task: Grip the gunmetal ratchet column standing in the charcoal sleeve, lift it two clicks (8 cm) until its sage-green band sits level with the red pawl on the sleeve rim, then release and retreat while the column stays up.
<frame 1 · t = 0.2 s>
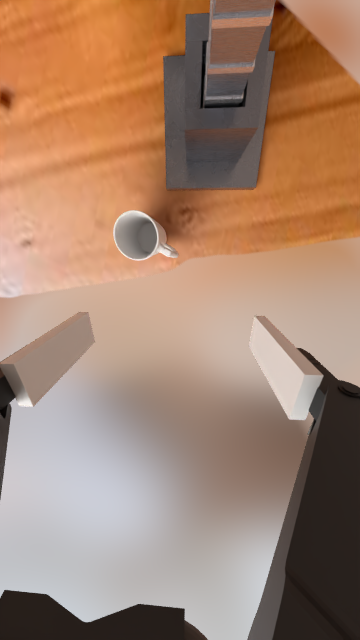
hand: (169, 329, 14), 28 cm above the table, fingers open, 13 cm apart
mug: (159, 242, 38), on the table
column: (226, 65, 19), point 13 cm above the table, slide at 0.0 cm
sleeve: (213, 133, 30), on the table
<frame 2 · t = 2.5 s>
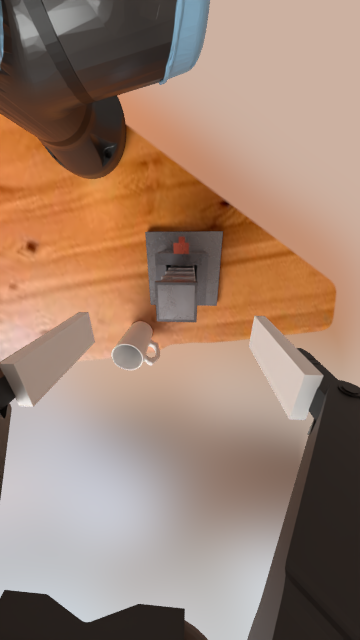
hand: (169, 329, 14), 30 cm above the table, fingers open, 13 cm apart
mug: (147, 333, 49), on the table
column: (181, 281, 30), point 13 cm above the table, slide at 0.0 cm
sleeve: (183, 270, 41), on the table
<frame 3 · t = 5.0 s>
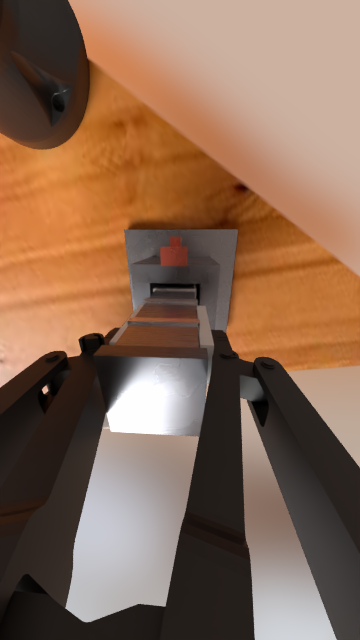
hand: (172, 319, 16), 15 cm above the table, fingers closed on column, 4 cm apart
column: (174, 311, 18), point 13 cm above the table, slide at 0.0 cm, touching gripper
sleeve: (180, 284, 30), on the table
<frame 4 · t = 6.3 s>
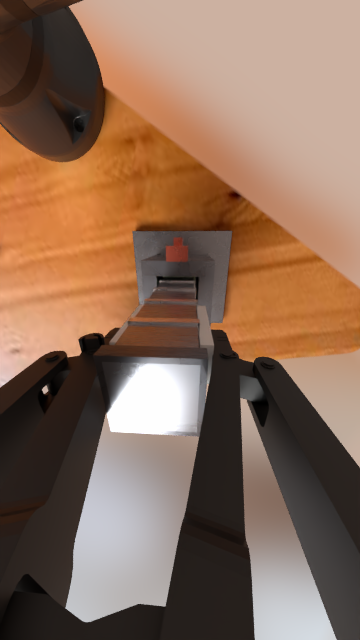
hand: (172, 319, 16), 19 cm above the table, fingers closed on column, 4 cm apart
column: (174, 311, 18), point 17 cm above the table, slide at 4.0 cm, touching gripper
sleeve: (181, 279, 33), on the table
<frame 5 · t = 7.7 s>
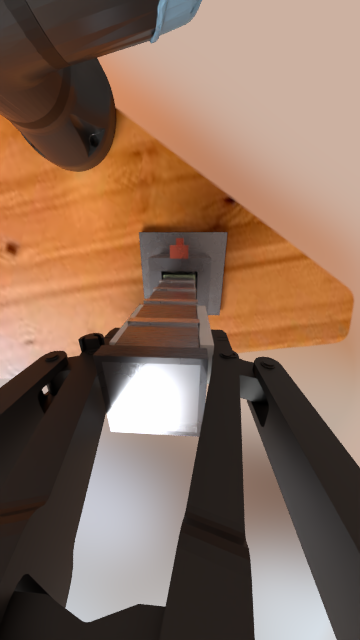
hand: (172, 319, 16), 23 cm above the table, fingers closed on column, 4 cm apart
column: (174, 311, 18), point 21 cm above the table, slide at 8.0 cm, touching gripper
sleeve: (182, 275, 37), on the table
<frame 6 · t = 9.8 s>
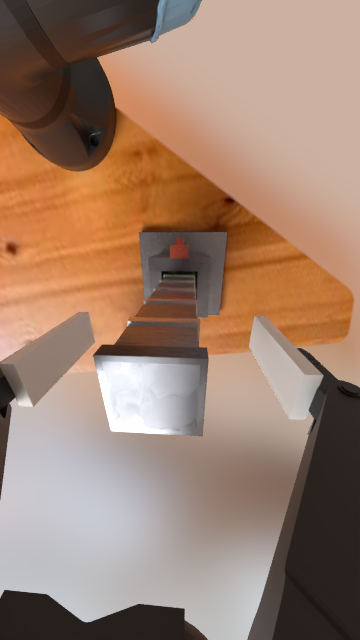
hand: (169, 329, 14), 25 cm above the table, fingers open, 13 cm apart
column: (174, 311, 18), point 21 cm above the table, slide at 8.0 cm
sleeve: (182, 275, 37), on the table
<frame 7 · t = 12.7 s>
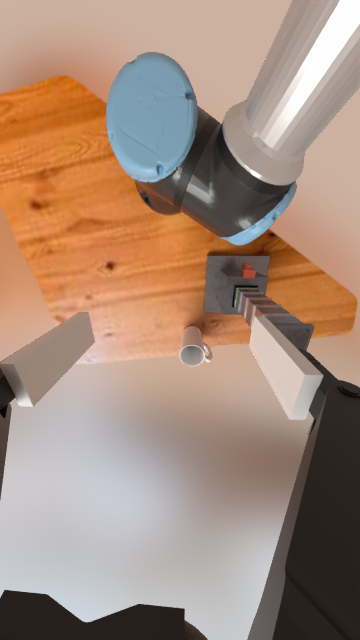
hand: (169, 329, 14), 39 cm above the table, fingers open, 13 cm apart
mug: (196, 336, 59), on the table
column: (258, 311, 32), point 21 cm above the table, slide at 8.0 cm
sleeve: (233, 285, 51), on the table
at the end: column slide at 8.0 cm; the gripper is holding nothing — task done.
